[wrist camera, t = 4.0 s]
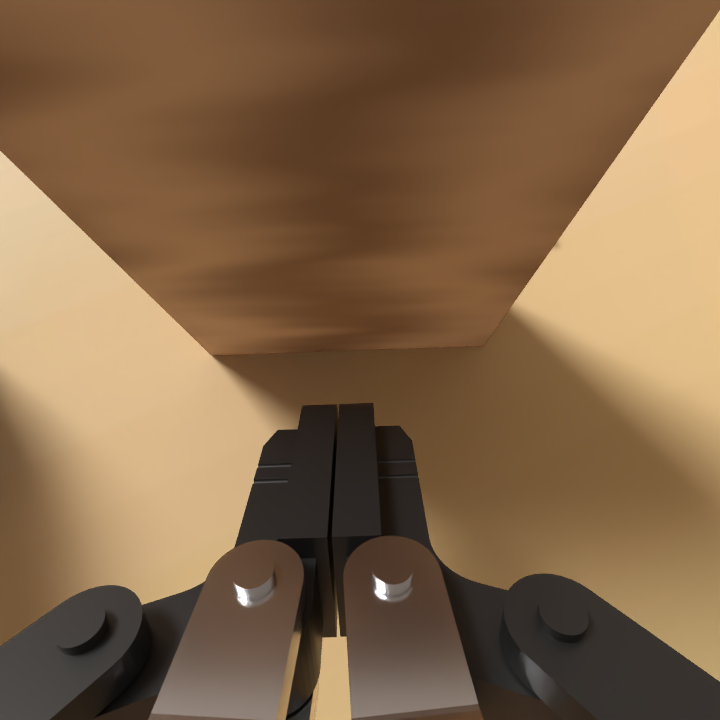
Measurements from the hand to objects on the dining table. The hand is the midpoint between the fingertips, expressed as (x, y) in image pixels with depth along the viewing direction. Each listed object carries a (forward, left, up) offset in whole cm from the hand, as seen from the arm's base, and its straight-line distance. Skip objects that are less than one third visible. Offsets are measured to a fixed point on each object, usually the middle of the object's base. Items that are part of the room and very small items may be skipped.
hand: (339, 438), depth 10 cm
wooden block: (0, +5, -6) cm, 8 cm away
